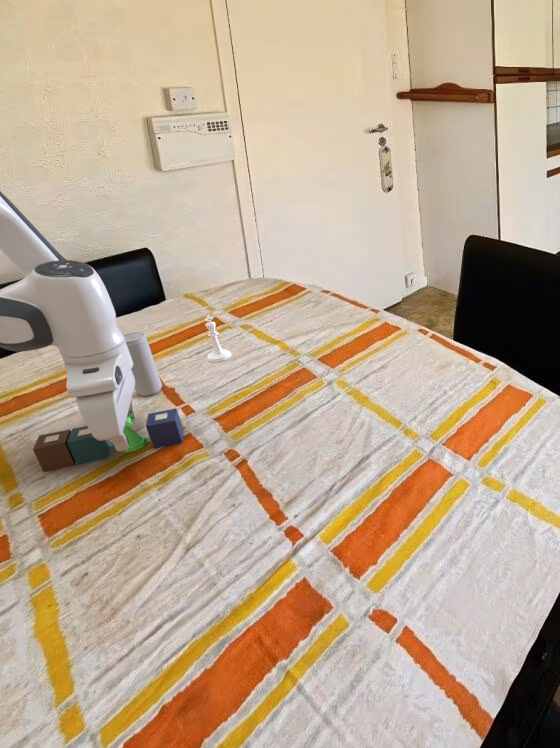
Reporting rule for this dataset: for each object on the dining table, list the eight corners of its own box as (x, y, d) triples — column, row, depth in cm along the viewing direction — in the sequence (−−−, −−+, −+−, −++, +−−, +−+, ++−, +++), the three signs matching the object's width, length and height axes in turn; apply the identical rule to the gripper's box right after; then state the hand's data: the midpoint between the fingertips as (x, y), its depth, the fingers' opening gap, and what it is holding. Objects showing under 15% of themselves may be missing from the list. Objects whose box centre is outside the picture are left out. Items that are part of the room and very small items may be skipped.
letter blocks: (43, 472, 102) (32, 448, 99) (49, 457, 105) (38, 434, 103) (182, 442, 108) (174, 419, 106) (183, 429, 112) (176, 407, 110)
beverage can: (159, 383, 128) (141, 329, 122) (166, 391, 125) (147, 337, 119) (134, 390, 125) (114, 336, 120) (139, 399, 122) (119, 344, 116)
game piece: (152, 439, 109) (141, 409, 107) (136, 453, 106) (125, 423, 103) (129, 438, 110) (117, 409, 107) (113, 452, 106) (101, 422, 103)
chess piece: (236, 355, 139) (225, 313, 134) (217, 363, 135) (205, 321, 130) (222, 350, 141) (210, 309, 136) (202, 359, 137) (190, 317, 133)
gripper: (88, 340, 107) (114, 409, 114) (63, 394, 90) (96, 471, 97) (129, 334, 109) (153, 402, 116) (112, 385, 92) (141, 461, 99)
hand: (127, 434), depth 106 cm, fingers open, 8 cm apart
